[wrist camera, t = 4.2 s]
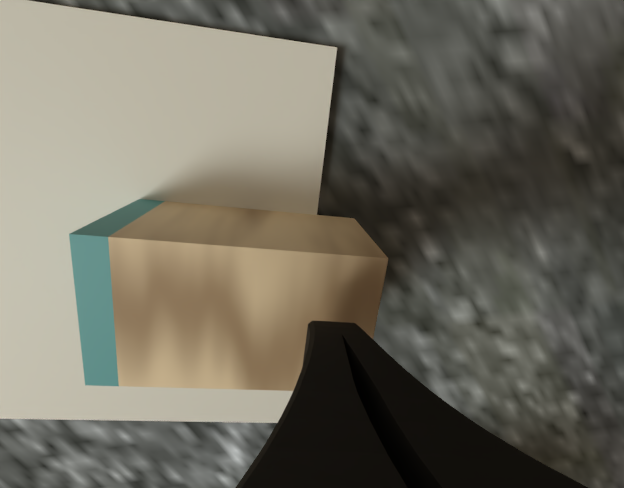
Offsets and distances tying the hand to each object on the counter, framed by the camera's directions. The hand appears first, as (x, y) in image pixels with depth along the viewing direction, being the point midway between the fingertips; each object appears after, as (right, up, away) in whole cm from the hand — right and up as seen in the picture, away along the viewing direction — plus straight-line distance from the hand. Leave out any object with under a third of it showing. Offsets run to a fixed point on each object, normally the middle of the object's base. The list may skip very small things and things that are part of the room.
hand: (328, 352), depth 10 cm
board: (-10, +3, +5) cm, 11 cm away
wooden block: (+1, +1, +4) cm, 4 cm away
